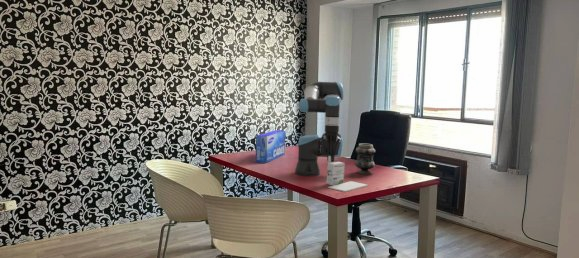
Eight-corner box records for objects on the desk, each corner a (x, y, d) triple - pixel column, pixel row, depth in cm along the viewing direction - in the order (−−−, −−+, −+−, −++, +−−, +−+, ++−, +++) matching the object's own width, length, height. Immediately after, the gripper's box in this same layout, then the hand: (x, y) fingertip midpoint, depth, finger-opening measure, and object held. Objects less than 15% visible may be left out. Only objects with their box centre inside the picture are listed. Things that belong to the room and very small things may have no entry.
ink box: (337, 181, 245) (339, 161, 243) (343, 183, 241) (345, 163, 239) (325, 183, 240) (327, 162, 238) (331, 185, 236) (333, 164, 234)
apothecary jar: (378, 173, 270) (379, 144, 268) (366, 176, 262) (367, 146, 260) (362, 170, 279) (363, 142, 277) (350, 172, 270) (351, 143, 268)
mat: (328, 188, 231) (328, 186, 231) (351, 182, 245) (351, 181, 245) (345, 192, 224) (345, 190, 223) (367, 185, 238) (367, 184, 238)
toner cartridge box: (266, 163, 294) (266, 136, 292) (254, 162, 297) (255, 135, 294) (285, 154, 331) (285, 130, 328) (275, 153, 333) (275, 129, 331)
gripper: (318, 124, 241) (317, 166, 244) (336, 126, 232) (335, 170, 234) (327, 123, 246) (325, 165, 249) (345, 125, 237) (344, 168, 240)
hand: (330, 167), depth 242 cm, fingers closed
